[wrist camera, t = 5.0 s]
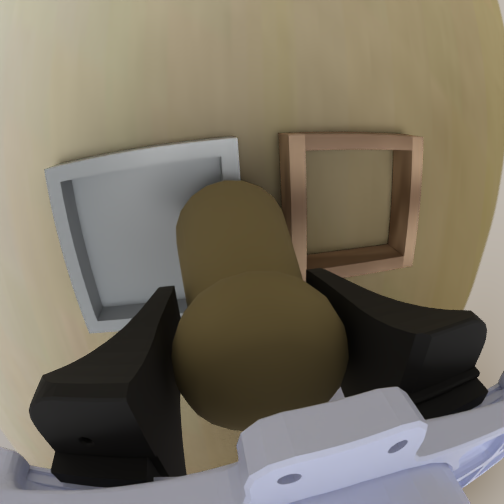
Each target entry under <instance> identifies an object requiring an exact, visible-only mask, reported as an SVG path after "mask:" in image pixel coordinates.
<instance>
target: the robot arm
mask: <svg viewBox="0 0 504 504" xmlns="http://www.w3.org/2000/svg"><path fill="white" fill-rule="evenodd" d="M306 283H308V284H309V285H311V286H312V287H313V288H315V289H316V290H318V291H319V292H320V293H322V294H323V295H324V296H326V297H327V299H328V300H329V302H330V303H331V305H332V307H333V308H334V310H335V311H336V313H337V315H338V316H339V318H340V320H341V321H342V323H343V324H344V326H345V331H346V336H347V342H348V354H349V360H348V364H347V368H346V372H345V375H344V378H343V380H342V383H341V386H340V388H339V389H338V390H337V392H336V393H335V394H334V395H333V397H332V398H331V399H330V400H329V402H326V403H322V404H317V405H313V406H309V407H304V408H299V409H294V410H289V411H284V412H280V413H277V414H274V415H271V416H268V417H264V418H261V419H259V420H257V421H256V422H255V423H253V424H252V425H251V426H249V427H248V428H247V429H245V430H244V431H243V432H241V434H240V437H239V440H238V443H237V451H238V457H239V459H238V462H235V463H232V464H229V465H225V466H221V467H218V468H214V469H210V470H206V471H202V472H198V473H194V474H189V475H186V468H185V459H184V450H183V440H182V428H181V413H180V391H179V390H178V387H177V384H176V380H175V377H174V372H173V365H172V358H171V354H172V343H173V339H174V336H175V333H176V330H177V327H178V323H179V321H180V319H181V317H180V312H179V307H178V302H177V296H176V291H175V286H165V287H159V288H158V289H157V290H156V291H155V292H154V294H153V295H152V296H151V297H150V299H149V300H148V301H147V302H146V304H145V305H144V306H143V307H142V308H141V309H140V311H139V312H138V313H137V314H136V315H135V316H134V317H133V318H132V319H131V320H130V321H129V322H128V323H127V324H126V325H125V326H124V327H123V328H122V329H121V330H120V331H119V332H118V333H117V334H115V335H114V336H113V337H112V338H111V339H109V340H108V341H107V342H105V343H104V344H102V345H101V346H99V347H98V348H97V349H95V350H94V351H92V352H91V353H89V354H87V355H86V356H84V357H82V358H80V359H79V360H77V361H75V362H73V363H71V364H69V365H67V366H64V367H62V368H60V369H57V370H55V371H52V372H50V373H47V374H44V375H43V376H42V378H41V380H40V382H39V385H38V387H37V389H36V392H35V394H34V397H33V399H32V401H31V404H30V408H29V414H30V418H31V420H32V422H33V423H34V425H35V427H36V428H37V429H38V431H39V432H40V433H41V435H42V436H43V437H44V438H45V440H46V441H47V442H48V443H49V445H50V446H51V447H52V448H53V449H54V451H55V455H54V459H53V463H52V468H51V469H48V468H42V467H37V466H31V465H29V464H28V462H27V461H26V460H25V459H24V457H23V456H21V455H20V454H19V453H17V452H16V451H13V450H10V449H7V448H3V447H0V504H471V503H470V501H469V500H468V498H467V496H466V495H465V493H464V491H463V490H462V488H463V487H465V486H466V485H468V484H469V483H471V482H472V481H473V480H475V479H476V478H478V477H479V476H480V475H482V474H483V473H484V472H485V471H487V470H488V469H490V468H491V467H492V466H493V465H495V464H496V463H497V462H498V461H500V460H501V459H502V458H503V457H504V371H503V373H502V375H501V377H500V379H499V382H498V383H497V384H496V385H494V386H492V387H490V388H489V389H486V388H485V386H483V384H482V383H481V382H480V381H479V380H478V378H477V377H478V376H479V374H480V372H479V371H478V369H477V368H476V367H475V364H476V362H477V360H478V358H479V355H480V353H481V351H482V348H483V346H484V343H485V340H486V333H487V328H486V324H485V323H484V322H483V321H482V320H481V319H480V318H479V317H478V316H477V315H475V314H474V313H473V312H472V311H465V310H444V309H435V308H428V307H422V306H417V305H413V304H408V303H404V302H400V301H397V300H394V299H391V298H388V297H385V296H382V295H379V294H377V293H374V292H372V291H369V290H367V289H365V288H363V287H360V286H358V285H356V284H354V283H352V282H350V281H348V280H346V279H344V278H342V277H340V276H338V275H336V274H334V273H332V272H330V271H328V270H325V269H323V268H315V269H307V270H306Z"/></svg>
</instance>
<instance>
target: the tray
mask: <svg viewBox="0 0 504 504" xmlns="http://www.w3.org/2000/svg"><path fill="white" fill-rule="evenodd" d="M44 171H45V177H46V182H47V188H48V193H49V198H50V203H51V208H52V212H53V217H54V221H55V225H56V229H57V234H58V237H59V241H60V245H61V249H62V253H63V256H64V260H65V263H66V266H67V270H68V273H69V276H70V280H71V283H72V286H73V289H74V292H75V295H76V298H77V301H78V304H79V307H80V309H81V312H82V315H83V318H84V320H85V323H86V326H87V328H88V331H89V333H101V332H115V331H120V330H121V329H122V328H123V327H124V326H125V325H126V324H127V323H128V322H129V321H130V320H131V319H132V318H133V317H134V316H135V315H136V314H137V313H138V312H139V311H140V309H141V308H142V307H143V306H144V305H145V304H146V302H147V301H148V300H149V299H150V297H151V296H152V295H153V294H154V292H155V291H156V290H157V289H158V288H159V287H165V286H175V291H176V296H177V302H178V307H179V312H180V317H182V315H183V313H184V311H185V310H186V309H187V303H186V297H185V292H184V286H183V280H182V275H181V269H180V263H179V256H178V250H177V244H176V225H177V221H178V218H179V215H180V212H181V210H182V208H183V207H184V206H185V204H186V203H187V202H188V200H189V199H190V198H191V196H193V195H194V194H196V193H197V192H198V191H200V190H201V189H203V188H204V187H206V186H208V185H211V184H214V183H217V182H221V181H224V180H235V181H241V180H240V166H239V152H238V138H237V137H234V136H229V137H218V138H208V139H198V140H190V141H182V142H174V143H167V144H160V145H153V146H146V147H140V148H134V149H128V150H123V151H117V152H112V153H107V154H101V155H96V156H92V157H87V158H82V159H78V160H73V161H69V162H65V163H60V164H57V165H55V166H52V167H49V168H47V169H44Z"/></svg>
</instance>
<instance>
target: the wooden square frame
mask: <svg viewBox="0 0 504 504" xmlns="http://www.w3.org/2000/svg"><path fill="white" fill-rule="evenodd" d="M278 134H279V154H280V177H281V202H282V211H283V214H284V218H285V221H286V224H287V227H288V231H289V234H290V237H291V241H292V244H293V247H294V251H295V254H296V257H297V261H298V264H299V268H300V271H301V275H302V278H303V281H305V282H306V270H307V269H315V268H323V269H325V270H328V271H330V272H332V273H334V274H336V275H338V276H340V277H342V278H347V277H353V276H359V275H365V274H371V273H377V272H382V271H388V270H394V269H399V268H405V267H410V266H412V264H413V258H414V251H415V244H416V236H417V228H418V219H419V209H420V197H421V184H422V166H423V137H419V136H413V135H406V134H393V133H370V132H296V133H278ZM352 149H370V150H393V181H392V200H391V215H390V227H389V238H388V244H385V245H377V246H370V247H363V248H355V249H348V250H340V251H332V252H325V253H317V254H309V255H307V193H306V152H305V151H308V150H352Z"/></svg>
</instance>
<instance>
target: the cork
mask: <svg viewBox="0 0 504 504" xmlns="http://www.w3.org/2000/svg"><path fill="white" fill-rule="evenodd" d="M176 244H177V250H178V256H179V263H180V269H181V275H182V280H183V286H184V292H185V297H186V303H187V309H186V310H185V311H184V313H183V315H182V317H181V319H180V321H179V323H178V327H177V330H176V333H175V336H174V339H173V343H172V354H171V358H172V365H173V372H174V377H175V380H176V384H177V387H178V390H179V391H180V393H181V394H182V396H183V397H184V398H185V400H186V401H187V403H188V404H189V405H190V406H191V408H192V409H193V410H194V411H195V412H196V413H197V414H198V415H199V416H201V417H202V418H204V419H205V420H207V421H208V422H210V423H212V424H214V425H217V426H220V427H224V428H227V429H230V430H240V431H244V430H245V429H247V428H248V427H249V426H251V425H252V424H253V423H255V422H256V421H257V420H259V419H261V418H264V417H268V416H271V415H274V414H277V413H280V412H284V411H289V410H294V409H299V408H304V407H309V406H313V405H317V404H322V403H326V402H329V400H330V399H331V398H332V397H333V395H334V394H335V393H336V392H337V390H338V389H339V388H340V386H341V383H342V380H343V378H344V375H345V372H346V368H347V364H348V360H349V354H348V342H347V336H346V331H345V326H344V324H343V323H342V321H341V320H340V318H339V316H338V315H337V313H336V311H335V310H334V308H333V307H332V305H331V303H330V302H329V300H328V299H327V297H326V296H324V295H323V294H322V293H320V292H319V291H318V290H316V289H315V288H313V287H312V286H311V285H309V284H308V283H306V282H305V281H303V278H302V275H301V271H300V268H299V264H298V261H297V257H296V254H295V251H294V247H293V244H292V241H291V237H290V234H289V231H288V227H287V224H286V221H285V218H284V214H283V211H282V209H281V208H280V206H279V205H278V203H277V202H276V200H275V199H274V197H273V196H272V195H270V194H269V193H268V192H266V191H265V190H264V189H262V188H261V187H260V186H257V185H254V184H251V183H248V182H245V181H235V180H224V181H221V182H217V183H214V184H211V185H208V186H206V187H204V188H203V189H201V190H200V191H198V192H197V193H196V194H194V195H193V196H191V198H190V199H189V200H188V202H187V203H186V204H185V206H184V207H183V208H182V210H181V212H180V215H179V218H178V221H177V225H176Z"/></svg>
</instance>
